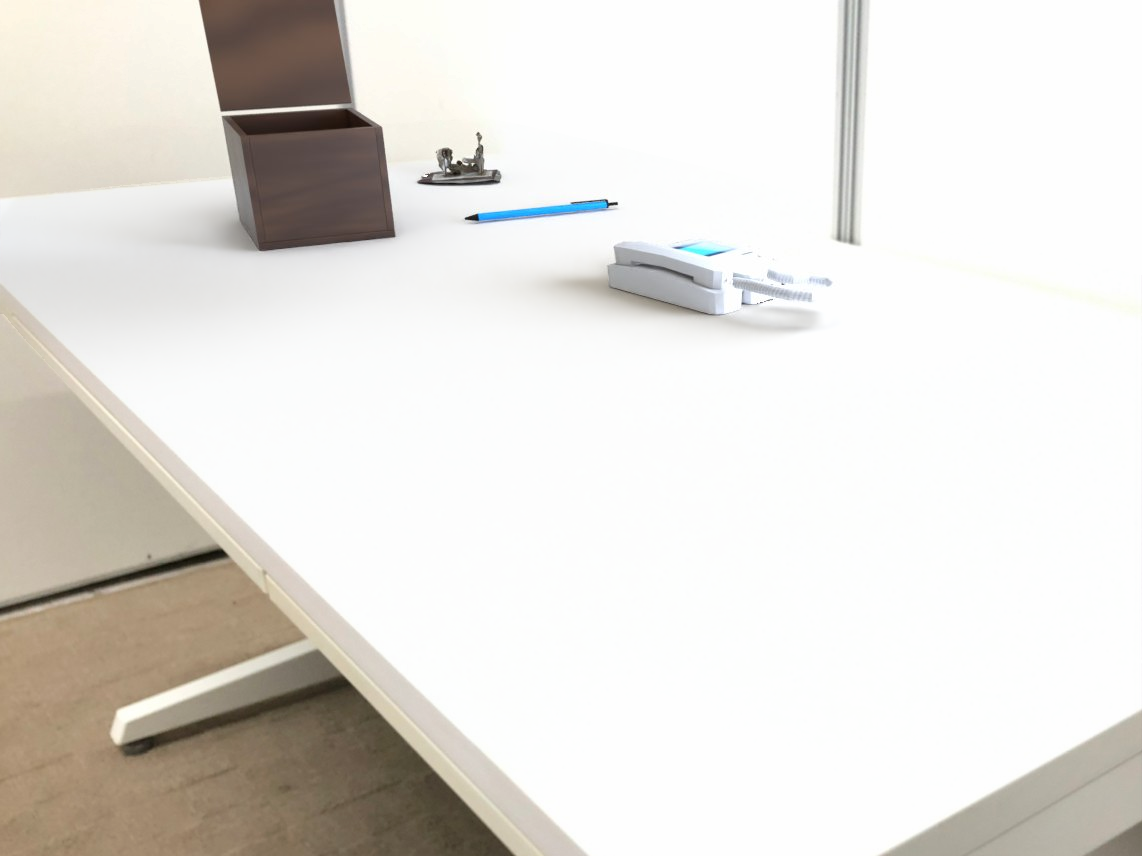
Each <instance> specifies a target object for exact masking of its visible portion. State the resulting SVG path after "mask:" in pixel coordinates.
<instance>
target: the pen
mask: <svg viewBox="0 0 1142 856" xmlns="http://www.w3.org/2000/svg"><path fill="white" fill-rule="evenodd" d="M618 205H619V202H618V201H612V202H611V201H610V202H609V200H608V199H607V198H601V199H591V200H581V201H571V202H570V203H569V204H561V205H552V206H551V205H550V206H540V207H530V208H519V209H518V208H517V209H508V210H498V211H488V212H477V213H475V214H471V215H469V216H466V217H463V218H462V220H465V221H471V222H473V221H474V222H485V221H493V220H494V221H496V220H503V219H505V220H506V219H516V218H525V217H534V216H544V215H553V214H555V215H556V214H563V213H565V214H566V213H573V212H574V213H575V212H583V211H584V212H585V211H593V210H594V211H595V210H604V209H610V207H613V206H618Z"/></svg>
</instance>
